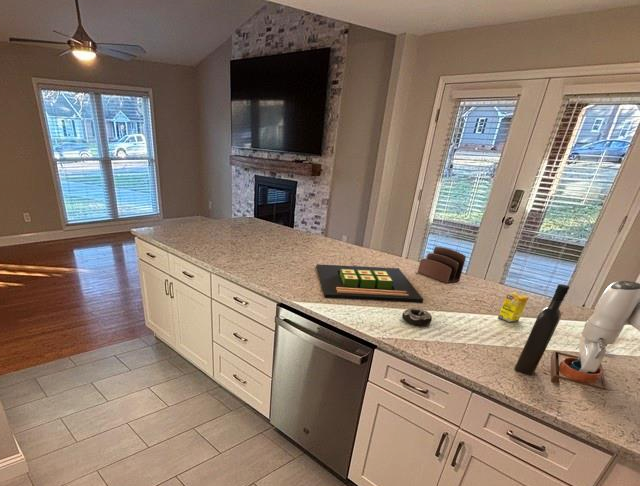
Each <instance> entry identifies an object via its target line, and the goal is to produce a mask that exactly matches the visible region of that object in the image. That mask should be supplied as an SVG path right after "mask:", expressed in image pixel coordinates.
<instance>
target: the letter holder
mask: <svg viewBox="0 0 640 486" xmlns="http://www.w3.org/2000/svg"><path fill="white" fill-rule="evenodd" d="M466 259H467V256H466V255H465V254H463V253H461V252H459V251H456V250H453V249H451V248H448V247H442V246H435V247H434V248H433V252H428V254H427V255H426V258H421V259H420V261H419V264H418V268H417V273H419V274H421V275H424V276H426V277H429V278H431V279H434V280H436V281H439V282H442V283H445V284H451V283H456V282H459V281H460V279H461V276H462V272H463V269H464V266H465V263H466Z"/></svg>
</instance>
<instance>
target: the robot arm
mask: <svg viewBox="0 0 640 486" xmlns="http://www.w3.org/2000/svg"><path fill="white" fill-rule="evenodd" d="M626 325H627V326H629V325H630V326H631V327H633V328H634V329H636V330H637V331H639V332H640V282H637V281H631V280H619V281H615V282H612V283H611V284H610V285H608V286H607V288H606V289H605V290H604V292H603V293H602V294H601V296H600V297H599V299H598V300H597V303H596V305H595V306H594V310H593V314H592V315H591V316H590V317H589V318H588V319H587V321H586V322H585V324H584V325H583V329H582V331H581V332H580V334H581V337H580V339H579V342H578V351H579V354H578V360H577V361H581V369H580V370H579V371H580V372H583V373H587V372H588V371H590V372H595V371H596V370H597V369H598V367H599V365H600V363H601V364H602V362H603V359H604V357H605V356H606V354H607V353H606V352H607V347H608V345H614V344H615V343H616V341H617V340H618V338H619V336H620V334H621V333H622V331H623V330H624V327H625V326H626Z"/></svg>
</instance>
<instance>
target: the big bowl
mask: <svg viewBox="0 0 640 486" xmlns="http://www.w3.org/2000/svg"><path fill="white" fill-rule="evenodd" d="M577 360H578V358H573V357H569V356H566V357H564V358H563V359H562V360H561V361H560V363H559V368H558V369H557V374H558V375H559V376H560V374H561V375H563V377H566V378H569V379H573V380H577V381H581V382H585V383H589V384H595V383H598V381H599V380H600V379H601V375H602V373H603V374H604V370H603V368H602V369H601V368H600V367H598V369H597V370H596V371H595V373H594V374H588V373H583V372H580V371H577V370H574V369H572V368H570V365H571V363H572V362H573V361H577Z"/></svg>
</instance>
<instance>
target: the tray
mask: <svg viewBox="0 0 640 486" xmlns="http://www.w3.org/2000/svg"><path fill="white" fill-rule="evenodd" d="M559 355H561V356H565V357H573V358H578V357H579V355H578V356H577V355H573V354H569V353H564V352H561V351H557V350H553V351H552V354H551V355H550V382H551V383H555V384H558V385H559V384H561V383H560V379H561V380H565V381H568V382H573V383H576V384H580V385H583V386H586V387H592V388H594V389H599V390H602V391H607V384H606V383H607V382H606V380H605V375H604V372H603V373H602V375H601V377H600V379H601V384H602V386H600V385H596V384H593V383H585V382H581V381H577V380H573V379H570V378H568V377H566V376H562V375H560V374H559V375H558V374H557V369H558V368H559V366H560V360H559ZM599 367H600V368H601V369H602V370H603V365H602V362H601V363H600V365H599Z"/></svg>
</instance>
